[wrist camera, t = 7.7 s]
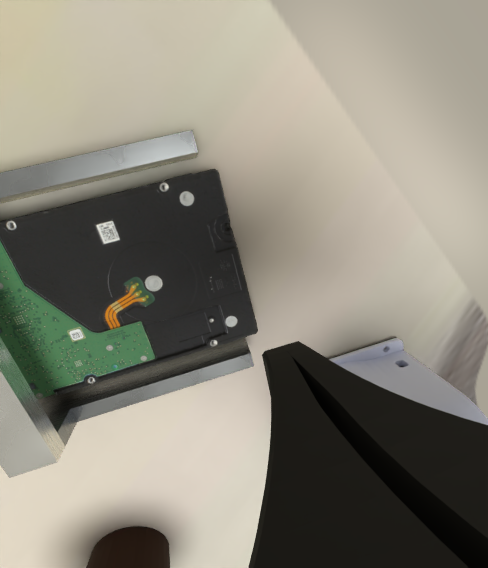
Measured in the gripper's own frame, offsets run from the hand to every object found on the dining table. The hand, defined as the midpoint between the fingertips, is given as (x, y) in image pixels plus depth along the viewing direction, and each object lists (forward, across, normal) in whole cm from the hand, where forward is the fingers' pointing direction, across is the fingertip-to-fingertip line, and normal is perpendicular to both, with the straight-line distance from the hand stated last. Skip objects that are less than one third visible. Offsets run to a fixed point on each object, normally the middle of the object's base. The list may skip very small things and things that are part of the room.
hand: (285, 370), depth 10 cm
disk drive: (+11, +7, -2) cm, 13 cm away
